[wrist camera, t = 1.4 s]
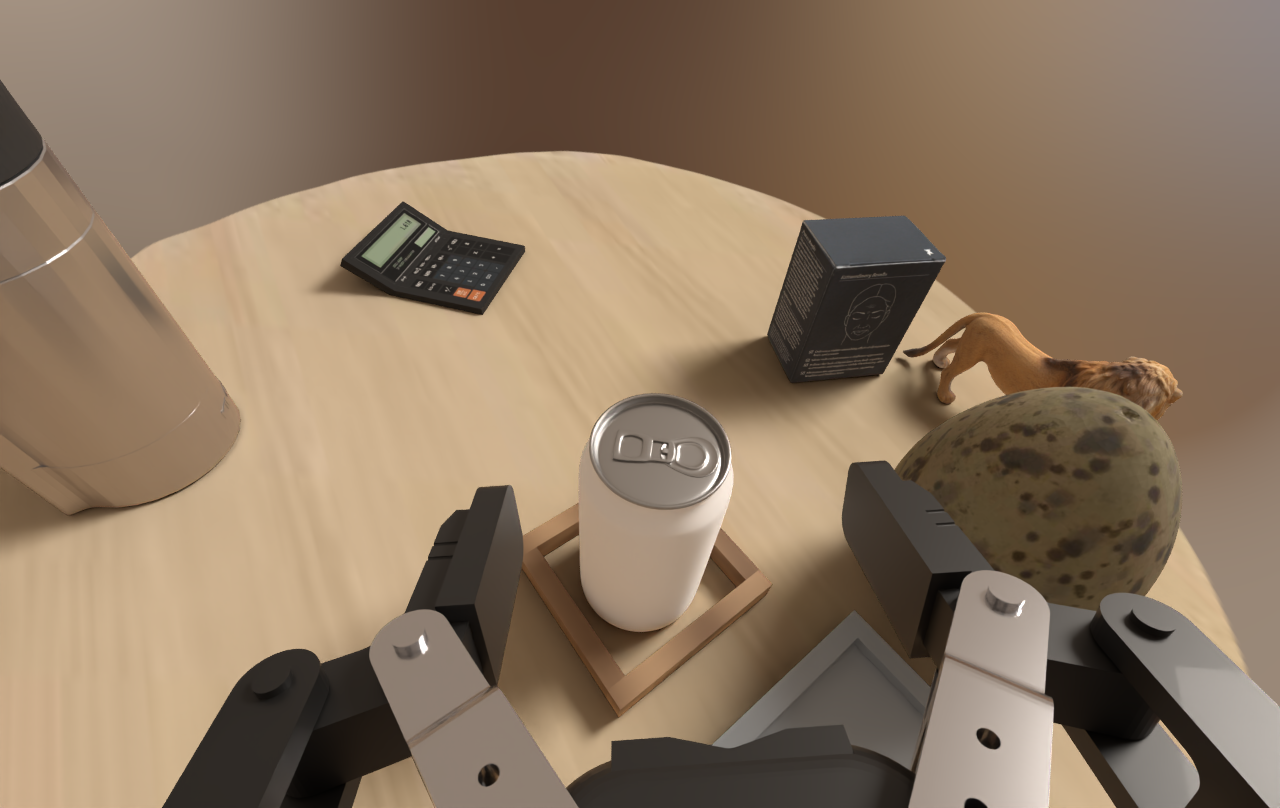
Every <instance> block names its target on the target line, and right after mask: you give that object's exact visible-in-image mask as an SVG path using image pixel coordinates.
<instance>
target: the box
mask: <svg viewBox="0 0 1280 808" xmlns="http://www.w3.org/2000/svg"><path fill="white" fill-rule="evenodd" d="M945 261H946V257H945V256H944V255H943V254H942V253H940V252H939V251H938V250H937V248H936V247H935V246H934V245H933V244H932V243H931V242H930V241H929V240H928V239H927V238H926V237H925V235H924V234H923V233H922V232H921V231H920V230H919V229H918V228H917V227H916V226H915V225H914V224H913V223H912V222H911V221H910V220H909V219H908V218H907V217H905V216H892V217H891V216H890V217H869V218H846V219H823V220H804V221H803V223H802V226H801V230H800V233H799V236H798V239H797V243H796V246H795V249H794V252H793V255H792V258H791V261H790V264H789V267H788V271H787V274H786V277H785V280H784V283H783V287H782V290H781V292H780V296H779V299H778V302H777V305H776V308H775V312H774V314H773V318H772V321H771V324H770V327H769V330H768V334H767V335H768V338H769V340H770V343H771V345H772V346H773V348H774V350H775V352H776V355H777V356H778V358H779V361H780V363H781V365H782V367H783V369H784V371H785V373H786V375H787V377H788V379H789V380H790V382H792V383H797V382H806V381H815V380H826V379H836V378H846V377H857V376H866V375H878V374H883V373H884V371H885V369H886V367H887V366H888V364H889V362H890V360H891V359H892V357H893V355H894V353H895V351H896V349H897V348H898V346H899V344H900V342H901V340H902V338H903V337H904V335H905V333H906V331H907V329H908V328H909V326H910V324H911V322H912V320H913V318H914V317H915V315H916V313H917V311H918V310H919V308H920V306H921V304H922V302H923V301H924V299H925V297H926V295H927V293H928V292H929V290H930V288H931V286H932V284H933V282H934V281H935V279H936V277H937V275H938V273H939V272H940V270H941V267H942V266H943V264H944V263H945Z"/></svg>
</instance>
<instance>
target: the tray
mask: <svg viewBox="0 0 1280 808" xmlns="http://www.w3.org/2000/svg"><path fill="white" fill-rule="evenodd" d="M930 688H931V687H930V686H929V685H928V684H927V683H926V682H925V681H924V680H923V679H922V678H921V677H920V676H919V675H918V674H917V673H916V672H915V671H914V670H913V669H912V668H911V667H910V666H909V665H908V664H907V663H906V662H905V661H904V660H903V659H902V658H901V657H900V656H899V655H898V654H897V653H896V652H895V651H894V650H893V649H892V648H891V647H890V646H889V645H888V644H887V643H886V642H885V641H884V640H883V639H882V638H881V637H880V635H879V634H878V633H877V632H876V631H875V630H874V629H873V628H872V627H871V626H870V625H869V624H868V623H867V622H866V621H865V620H864V619H863V618H862V617H861V616H860V615H859V614H858V613H857V612H856V611H855V610H854V611H853V612H852V613H851V614H849V615H848V616H847V617H846V618H845V619H844V620H843V621H842V622H841V623H840V624H839V625H838V626H837V627H836V628H835V629H834V630H833V631H832V632H830V633H829V634H828V635H827V636H826V637H825V638H824V639H823V640H822V641H821V642H820V643H819V644H818V645H817V646H816V647H815V648H814V649H813V650H811V651H810V652H809V653H808V654H807V655H806V656H805V657H804V658H803V659H802V660H801V661H800V662H799V663H798V664H797V665H796V666H795V667H794V668H792V669H791V670H790V671H789V672H788V673H787V674H786V675H785V676H784V677H783V678H782V679H781V680H780V681H779V682H778V683H777V684H776V685H775V686H773V687H772V688H771V689H770V690H769V691H768V692H767V693H766V694H765V695H764V696H763V697H762V698H761V699H760V700H759V701H758V702H757V703H756V704H754V705H753V706H752V707H751V708H750V709H749V710H748V711H747V712H746V713H745V714H744V715H743V716H742V717H741V718H740V719H739V720H738V721H737V722H735V723H734V724H733V725H732V726H731V727H730V728H729V729H728V730H727V731H726V732H725V733H724V734H723V735H722V736H721V737H720V738H719V739H718V740H716V741H715V742H714V743H713V744H712V746H717V747H723V748H734V747H737V746H740V745H743V744H746V743H748V742H751V741H754V740H757V739H759V738H762V737H765V736H768V735H770V734H773V733H776V732H779V731H781V730H784V729H787V728H801V727H815V726H829V725H844V728H845V730H846V733H847V736H848V739H849V741H850V744H851V745H856V746H860V747H863V748H866V749H869V750H872V751H875V752H877V753H880V754H882V755H884V756H886V757H889V758H890V759H892V760H894V761H896V762H898V763H899V764H901V765H903V766H904V767H906V768H907V769H909V768H910V765H911V761H912V757H913V754H914V750H915V746H916V742H917V739H918V735H919V731H920V727H921V723H922V719H923V715H924V711H925V707H926V704H927V700H928V696H929V692H930Z"/></svg>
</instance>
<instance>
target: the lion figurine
mask: <svg viewBox="0 0 1280 808" xmlns="http://www.w3.org/2000/svg"><path fill="white" fill-rule="evenodd" d="M963 328H966V330H965V331H964V333H963V335H962V337H961V338H957V339H949V338H950V337H952V336H953V335H954V334H956V333H957V332H959V331H960V330H962V329H963ZM947 339H949V340H947ZM946 340H947V341H946ZM945 341H946V342H945ZM943 342H945V343H944V344H943V345H942V346H941V347H940V348H939V349H938V350H937V351H936V352H935V354H934V356H933V361H934V363H935V364H936V365H937V366H938V367H940V368H945V369H943V371H942V372H941V379H940V385H939V388H938V391H937V396H938V398H939V400H940V401H941V402H943V403H946V404H949V403H951V402H953V401H954V400H955V397H956V396H955V394H954V393H953V392H952V391H951V389H950V385H951V382H952V380H953V379H954V377H956V376H957V375H959V374H961V373H962V372H964V371H966V370H968V369H970V368H971V367H973V366H974V365H975V364H977V363H978V362H980V361H983V362H985V363H986V364H987V366H988V369H989V372H990V374H991V377H992V379H993V380H994V382H995V384H996V385H997V386H998V387H999V388H1000V390H1001V391H1002V392H1003V393H1004V394H1005V395H1009V394H1013V393H1017V392H1022V391H1027V390H1033V389H1040V388H1050V387H1083V388H1091V389H1097V390H1102V391H1106V392H1110V393H1114V394H1117V395H1120V396H1122V397H1124V398H1126V399H1128V400H1130V401H1132V402H1134V403H1135V404H1137V405H1139V406H1141V407H1142V408H1143V409H1144V410H1146V411H1147V412H1148V413H1149V414H1151V415H1152V416H1153V417H1154V418H1155V419H1156V420H1158V419H1159V418H1160V417H1161V416H1163V414H1164V413H1165V411H1166V409H1167V408H1168V407H1169V406H1171V403H1174V402H1175V401H1176V400H1178V399H1179V398H1181V396H1182V395H1183V392H1182V391H1181V390H1179V389H1178V388H1177V384H1178V382H1177V381H1176V380H1175V379H1174V378H1173V376H1172V373H1171V372H1170V371H1169V369H1168V368H1167V367H1166V366H1164V365H1160V364H1159V363H1157V362H1155V361H1147V360H1146V359H1144V358H1136V357H1129V358H1127V359H1126V360H1125V361H1123V362H1120V363H1118V362H1111V363H1109V362H1106V361H1099V362H1097V361H1084V360H1068V359H1067V360H1057V359H1053V358H1052V357H1050V356H1048V355H1047V354H1045V353H1043V352H1042V351H1040V350H1039V349H1037V348H1036V347H1034V346H1033V345H1032V344H1031V343H1029V342H1028V341H1027V340H1026V339H1025V338H1024V337H1023V335H1022V334H1021V333H1020V332H1019V330H1018V328H1017V327H1016V326H1015V325H1014V324H1013V323H1012V322H1011V321H1009V320H1008V319H1006V318H1004V317H1001V316H999V315H993V314H990V313H974V314H971V315H968V316H966V317H964V318H962V319H960V320H959V321H957V322H956V323H955V324H953V325H952V326H951V327H949V328H948V329H947V330H946V331H945V332H944V333H943V334H941V335H940V336H939V337H938V338H937V339H936V340H934V341H933V342H932V343H931V344H929V345H927V346H925V347H922V348H918V349H910V350H905V351H903V353H904V354H906V355H907V356H908V357H918V356H921V355H924V354H926V353H928V352H929V351H931V350H933V349H935V348H936V347H938V346H939V345H940V344H942V343H943ZM950 353H955V356H954V358H953V361H952V362H951V364H950V361H949V359H948V358H947V357H946V356H947V355H948V354H950Z"/></svg>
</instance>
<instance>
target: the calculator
mask: <svg viewBox="0 0 1280 808" xmlns="http://www.w3.org/2000/svg"><path fill="white" fill-rule="evenodd" d="M524 252H525V246H523V245H518V244H513V243H508V242H503V241H498V240H493V239H488V238H482V237H477V236H472V235H467V234H462V233H457V232H452V231H447V230H446V229H444V228H443V227H441V226H440V225H438V224H437V223H435V222H434V221H432V220H431V219H429V218H428V217H426V216H425V215H423V214H422V213H420V212H419V211H417V210H416V209H414V208H413V207H411V206H410V205H408V204H406V203H405V202H402V203H401V204H400V205H398V206H397V207H396V208H395V209H394V210H393V211H392V212H391V213H390V214H389V215H388V216H387V217H386V218H385V219H384V220H383V221H382V222H381V223H379V224H378V225H377V226H376V227H375V228H374V229H373V230H372V231H371V232H370V233H369V234H368V235H367V236H366V237H365V238H364V239H363V240H362V241H360V242H359V243H358V244H357V245H356V246H355V247H354V248H353V249H352V250H351V251H350V252H349V253H348V254H347V255H346V256H345V257H344V258H343V259H342V261H341V265H340V266H341V267H343V268H345V269H347V270H348V271H350V272H352V273H353V274H355V275H357V276H358V277H360V278H362V279H364V280H365V281H367V282H369V283H370V284H372V285H374V286H376V287H377V288H379V289H381V290H382V291H384V292H386V293H387V294H389V295H393V296H398V297H402V298H407V299H411V300H416V301H421V302H425V303H430V304H435V305H439V306H444V307H449V308H453V309H458V310H463V311H467V312H472V313H477V314H481V315H483V313H484V312H485V310H486V309H487V308H488V306H489V305H490V303H491V302H492V300H493V299H494V297H495V296H496V294H497V293H498V291H499V290H500V288H501V287H502V285H503V284H504V282H505V281H506V279H507V278H508V276H509V275H510V273H511V272H512V270H513V269H514V267H515V266H516V264H517V263H518V261H519V260H520V258H521V257H522V255H523V254H524Z"/></svg>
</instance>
